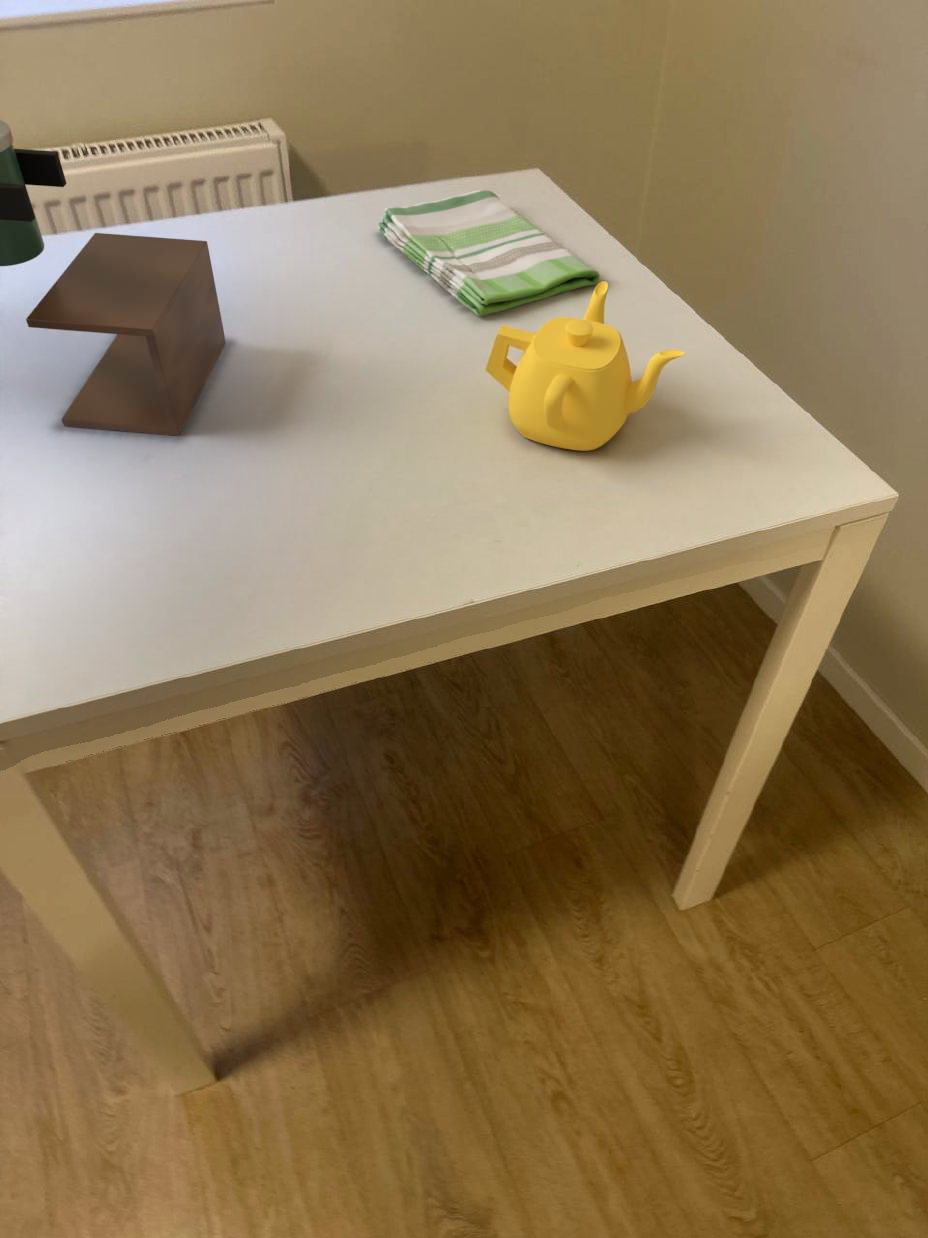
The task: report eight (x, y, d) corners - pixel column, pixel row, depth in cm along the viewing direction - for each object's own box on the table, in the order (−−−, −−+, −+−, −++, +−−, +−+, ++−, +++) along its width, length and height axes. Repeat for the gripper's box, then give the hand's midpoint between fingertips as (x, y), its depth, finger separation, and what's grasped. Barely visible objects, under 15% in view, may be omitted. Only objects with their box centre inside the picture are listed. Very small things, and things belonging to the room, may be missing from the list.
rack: (123, 334, 97) (94, 232, 89) (226, 343, 97) (207, 240, 89) (63, 426, 87) (25, 318, 79) (178, 436, 86) (152, 329, 78)
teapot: (665, 441, 88) (687, 348, 80) (540, 477, 84) (551, 382, 76) (592, 365, 96) (605, 275, 88) (474, 395, 92) (478, 302, 84)
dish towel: (491, 205, 120) (492, 178, 117) (603, 283, 107) (607, 253, 105) (375, 237, 114) (373, 208, 111) (479, 323, 101) (480, 293, 98)
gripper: (-140, 167, 89) (97, 183, 87) (-264, 262, 76) (12, 283, 75) (-178, 80, 83) (74, 96, 82) (-320, 167, 70) (-22, 188, 69)
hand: (44, 185), depth 78 cm, fingers closed on tin, 6 cm apart
